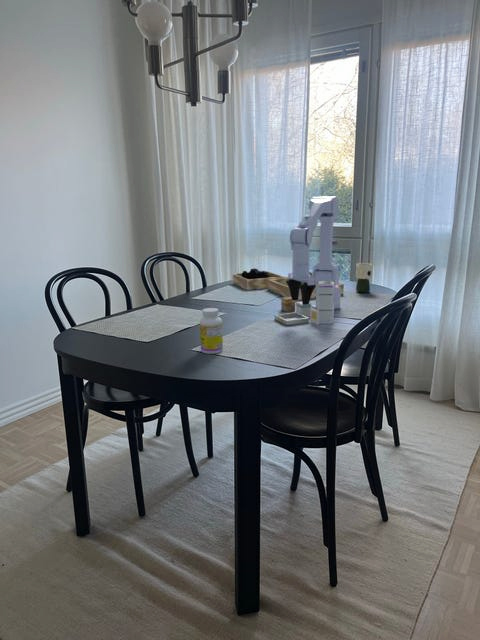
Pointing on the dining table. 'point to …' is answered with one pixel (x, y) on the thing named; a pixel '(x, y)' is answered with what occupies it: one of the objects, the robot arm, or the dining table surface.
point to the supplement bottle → (211, 331)
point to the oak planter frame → (283, 289)
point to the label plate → (314, 316)
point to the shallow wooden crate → (254, 281)
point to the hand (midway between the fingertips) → (300, 302)
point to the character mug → (363, 276)
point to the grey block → (303, 308)
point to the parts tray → (291, 318)
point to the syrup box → (326, 302)
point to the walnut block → (287, 304)
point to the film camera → (255, 274)
